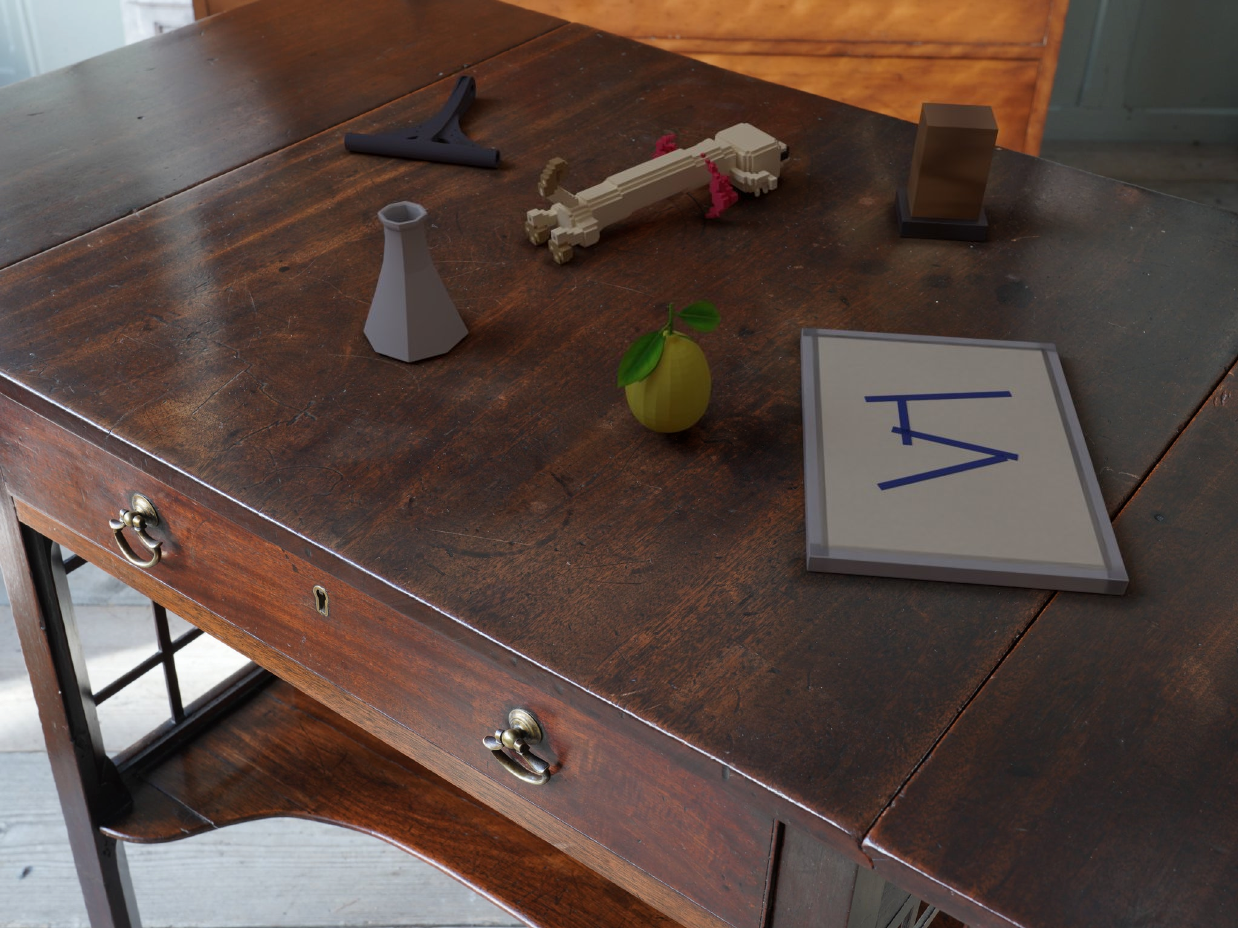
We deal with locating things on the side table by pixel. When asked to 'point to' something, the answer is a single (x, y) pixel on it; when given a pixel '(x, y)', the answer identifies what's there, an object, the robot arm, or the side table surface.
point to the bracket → (433, 135)
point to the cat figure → (656, 185)
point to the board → (949, 464)
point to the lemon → (669, 372)
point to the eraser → (948, 174)
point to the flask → (410, 292)
